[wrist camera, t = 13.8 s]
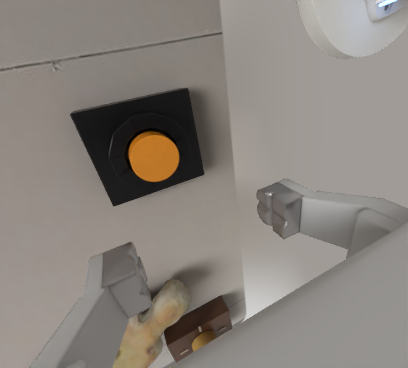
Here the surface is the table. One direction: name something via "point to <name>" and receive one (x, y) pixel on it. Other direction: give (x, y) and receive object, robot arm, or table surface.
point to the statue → (152, 326)
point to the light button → (153, 156)
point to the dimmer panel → (197, 327)
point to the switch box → (129, 129)
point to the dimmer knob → (203, 339)
